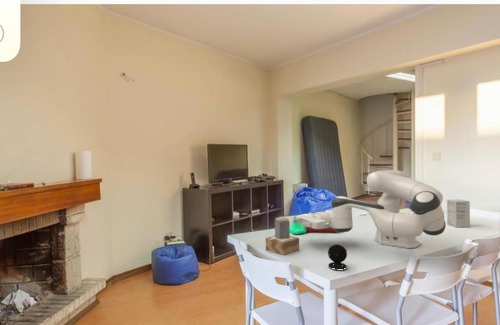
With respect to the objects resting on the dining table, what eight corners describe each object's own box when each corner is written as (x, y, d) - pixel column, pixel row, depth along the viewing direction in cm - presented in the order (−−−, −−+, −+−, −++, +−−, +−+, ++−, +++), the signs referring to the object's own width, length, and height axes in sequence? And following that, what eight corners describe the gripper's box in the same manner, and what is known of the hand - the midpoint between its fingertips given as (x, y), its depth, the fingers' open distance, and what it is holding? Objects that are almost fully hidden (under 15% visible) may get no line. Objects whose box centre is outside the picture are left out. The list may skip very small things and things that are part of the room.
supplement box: (470, 227, 194) (470, 201, 194) (455, 227, 194) (455, 201, 194) (460, 224, 204) (460, 199, 203) (446, 224, 204) (446, 199, 204)
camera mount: (283, 232, 191) (283, 215, 191) (292, 230, 195) (292, 214, 195) (297, 235, 181) (296, 218, 181) (306, 233, 185) (306, 217, 185)
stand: (299, 249, 154) (299, 237, 154) (283, 255, 146) (283, 242, 145) (281, 244, 163) (281, 233, 162) (265, 249, 154) (265, 237, 154)
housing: (284, 235, 158) (284, 216, 157) (289, 238, 152) (289, 218, 152) (275, 237, 156) (274, 217, 155) (279, 239, 150) (279, 219, 150)
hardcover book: (338, 234, 185) (338, 227, 184) (303, 233, 187) (303, 226, 187) (335, 229, 196) (335, 223, 196) (302, 228, 199) (302, 222, 199)
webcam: (346, 265, 131) (346, 242, 131) (347, 271, 124) (347, 247, 123) (328, 264, 133) (327, 241, 133) (328, 270, 126) (327, 246, 125)
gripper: (331, 230, 153) (307, 233, 148) (310, 222, 172) (288, 225, 167) (331, 218, 152) (307, 220, 148) (309, 211, 172) (288, 213, 167)
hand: (297, 223), depth 157 cm, fingers open, 8 cm apart
